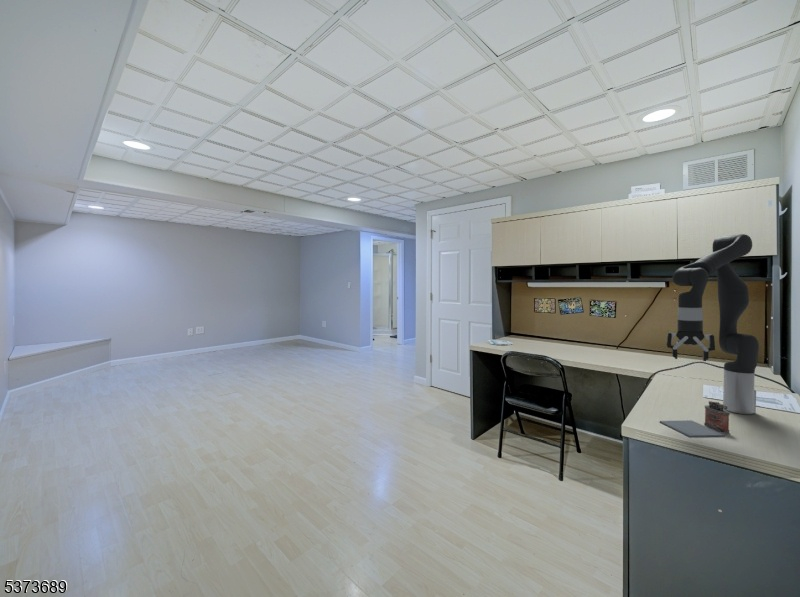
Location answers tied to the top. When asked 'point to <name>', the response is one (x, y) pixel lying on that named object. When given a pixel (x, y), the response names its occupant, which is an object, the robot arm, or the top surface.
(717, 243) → the robot arm
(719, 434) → the mat
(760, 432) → the top surface
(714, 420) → the lighter
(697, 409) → the top surface
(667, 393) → the top surface
